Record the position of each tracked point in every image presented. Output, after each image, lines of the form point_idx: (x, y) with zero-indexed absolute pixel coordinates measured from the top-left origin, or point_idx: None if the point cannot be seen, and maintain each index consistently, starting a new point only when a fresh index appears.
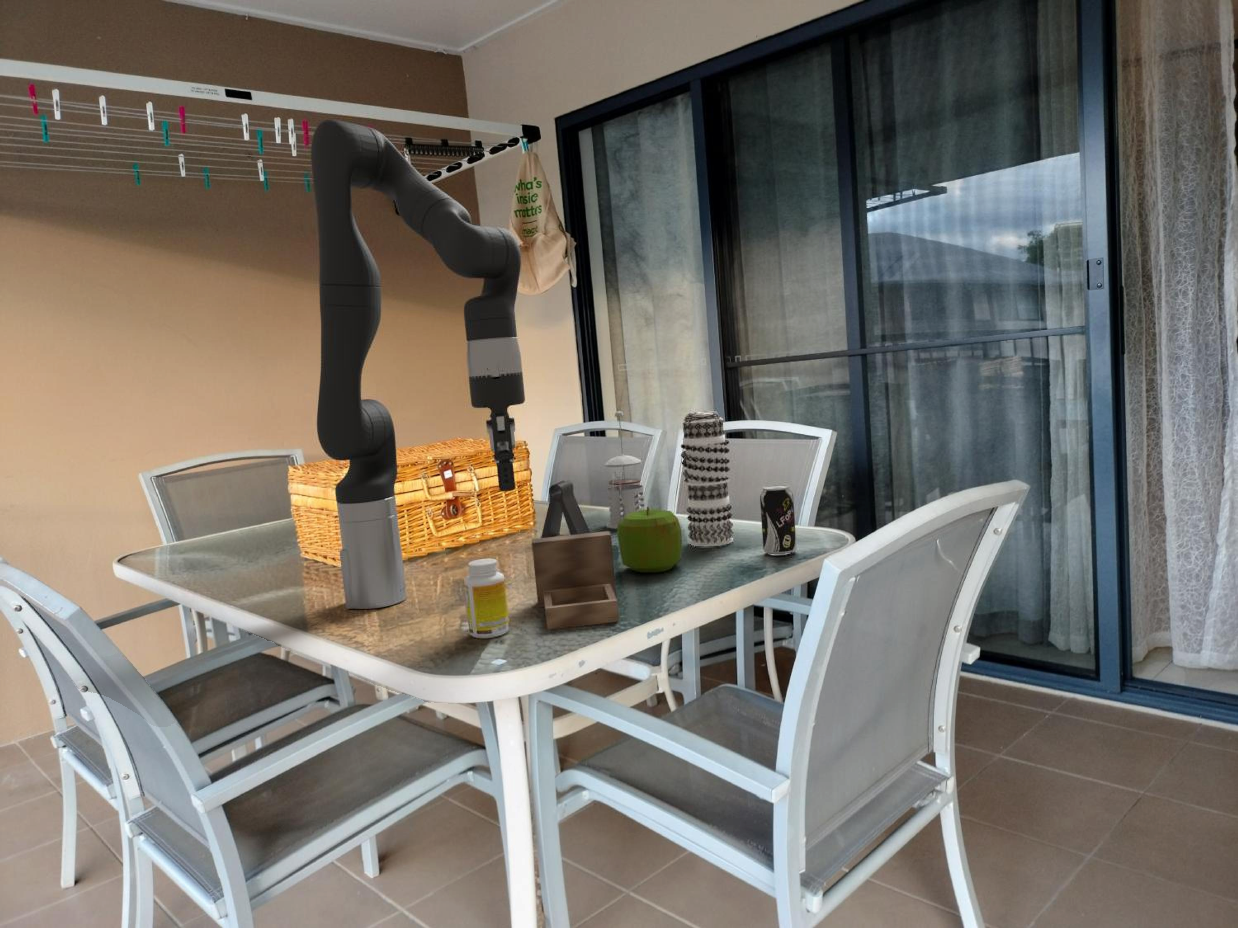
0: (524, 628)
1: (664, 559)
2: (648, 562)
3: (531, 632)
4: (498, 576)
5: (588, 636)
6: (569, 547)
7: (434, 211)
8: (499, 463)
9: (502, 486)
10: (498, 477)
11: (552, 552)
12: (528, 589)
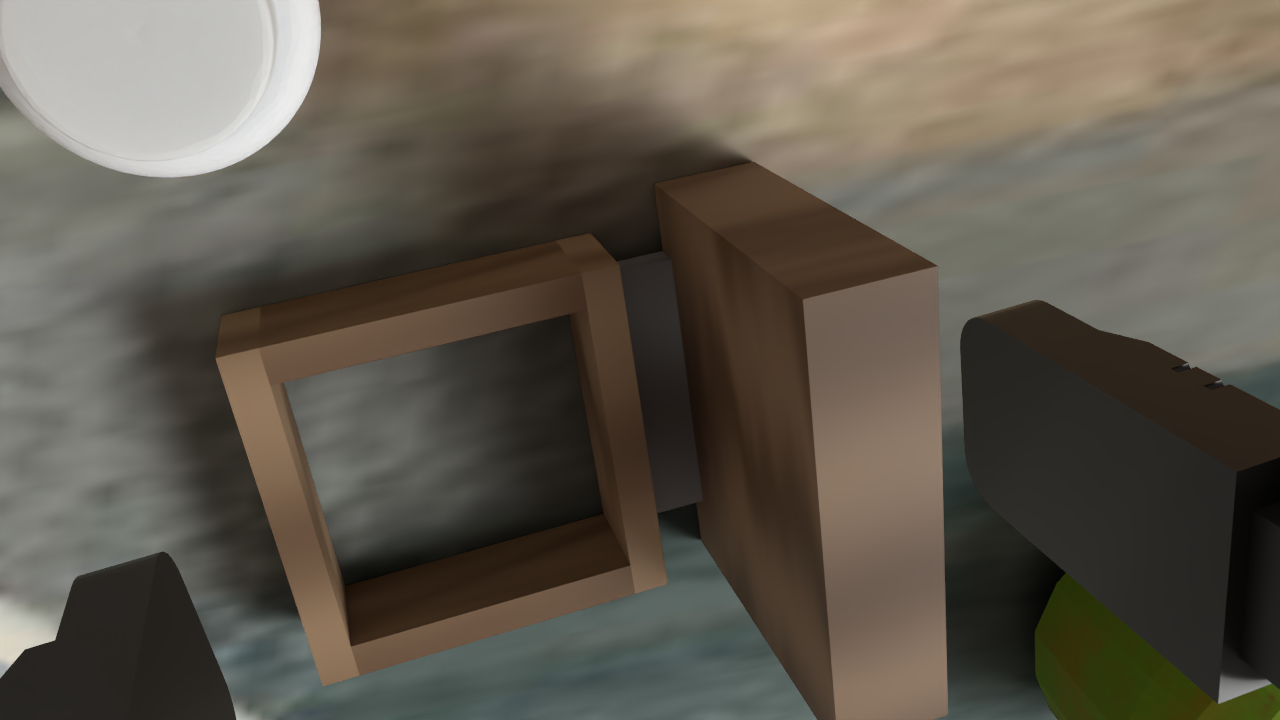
0: (264, 181)
1: (1055, 709)
2: (1048, 648)
3: (182, 236)
4: (109, 155)
5: (84, 537)
6: (798, 503)
7: None
8: (1156, 472)
9: (22, 669)
10: (38, 708)
11: (781, 393)
12: (1027, 57)
